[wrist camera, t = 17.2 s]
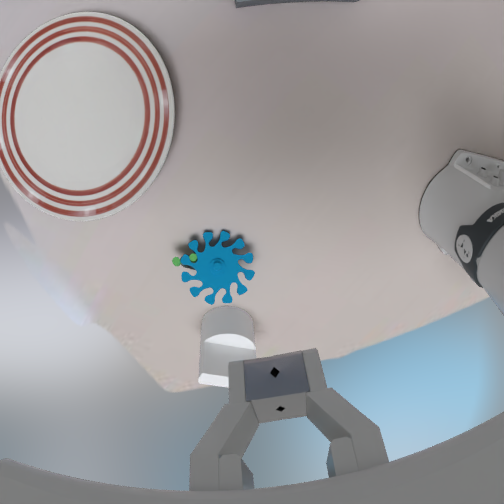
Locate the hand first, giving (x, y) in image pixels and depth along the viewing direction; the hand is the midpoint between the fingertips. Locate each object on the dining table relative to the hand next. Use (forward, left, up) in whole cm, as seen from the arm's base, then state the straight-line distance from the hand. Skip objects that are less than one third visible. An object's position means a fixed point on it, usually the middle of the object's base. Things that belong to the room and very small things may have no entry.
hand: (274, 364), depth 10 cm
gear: (+7, +16, -31) cm, 36 cm away
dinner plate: (+20, -8, -32) cm, 38 cm away
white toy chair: (+8, +31, -31) cm, 45 cm away
